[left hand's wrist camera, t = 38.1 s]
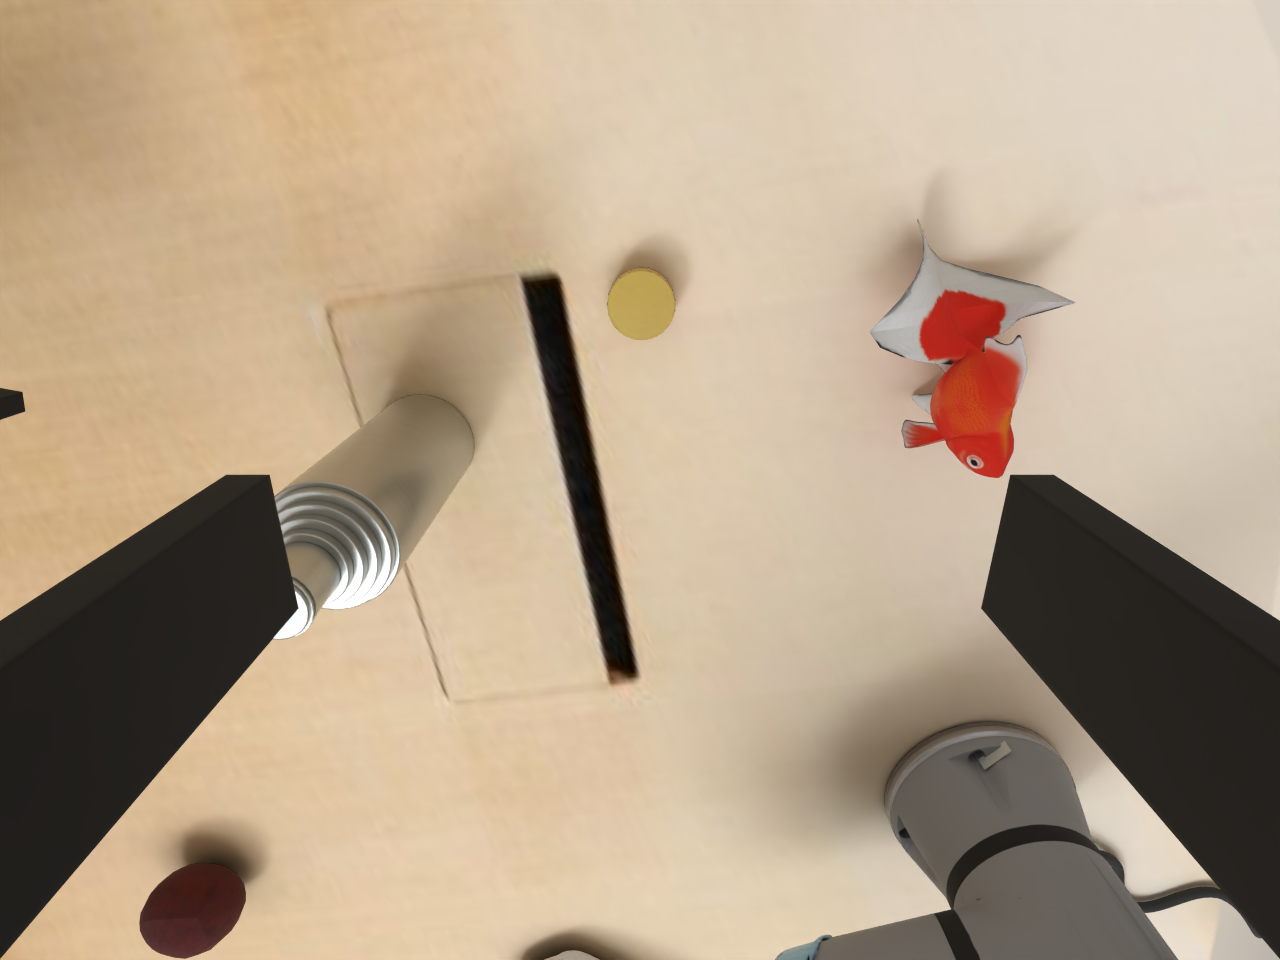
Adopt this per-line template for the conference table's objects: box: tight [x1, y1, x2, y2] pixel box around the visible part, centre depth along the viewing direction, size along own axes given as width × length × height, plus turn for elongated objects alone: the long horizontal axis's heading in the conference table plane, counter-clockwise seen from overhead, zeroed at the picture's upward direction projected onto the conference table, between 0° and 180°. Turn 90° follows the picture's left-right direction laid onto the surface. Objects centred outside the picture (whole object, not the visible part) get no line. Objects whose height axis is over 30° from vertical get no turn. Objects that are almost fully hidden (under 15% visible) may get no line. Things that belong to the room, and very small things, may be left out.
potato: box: [140, 863, 246, 959], centre depth 59 cm, size 7×8×7 cm
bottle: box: [273, 395, 474, 639], centre depth 37 cm, size 7×7×21 cm
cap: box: [607, 267, 675, 340], centre depth 43 cm, size 4×4×2 cm
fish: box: [870, 218, 1075, 478], centre depth 41 cm, size 11×16×10 cm
